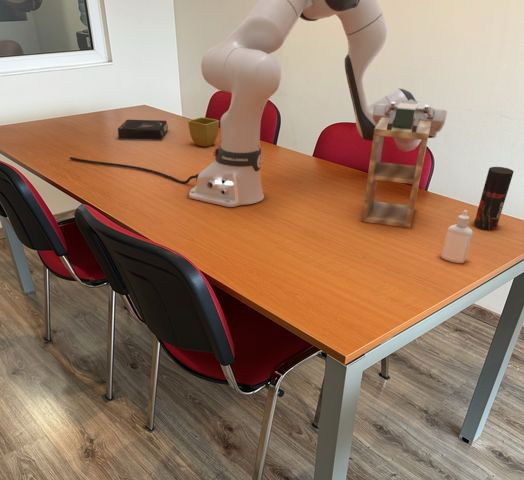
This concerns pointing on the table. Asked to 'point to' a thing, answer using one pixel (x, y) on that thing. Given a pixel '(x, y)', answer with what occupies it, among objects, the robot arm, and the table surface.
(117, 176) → the table surface
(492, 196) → the deodorant
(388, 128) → the bottle rack
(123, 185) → the table surface
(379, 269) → the table surface
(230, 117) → the robot arm
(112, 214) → the table surface
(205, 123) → the flower pot
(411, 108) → the bottle
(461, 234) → the eye dropper bottle
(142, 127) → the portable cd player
